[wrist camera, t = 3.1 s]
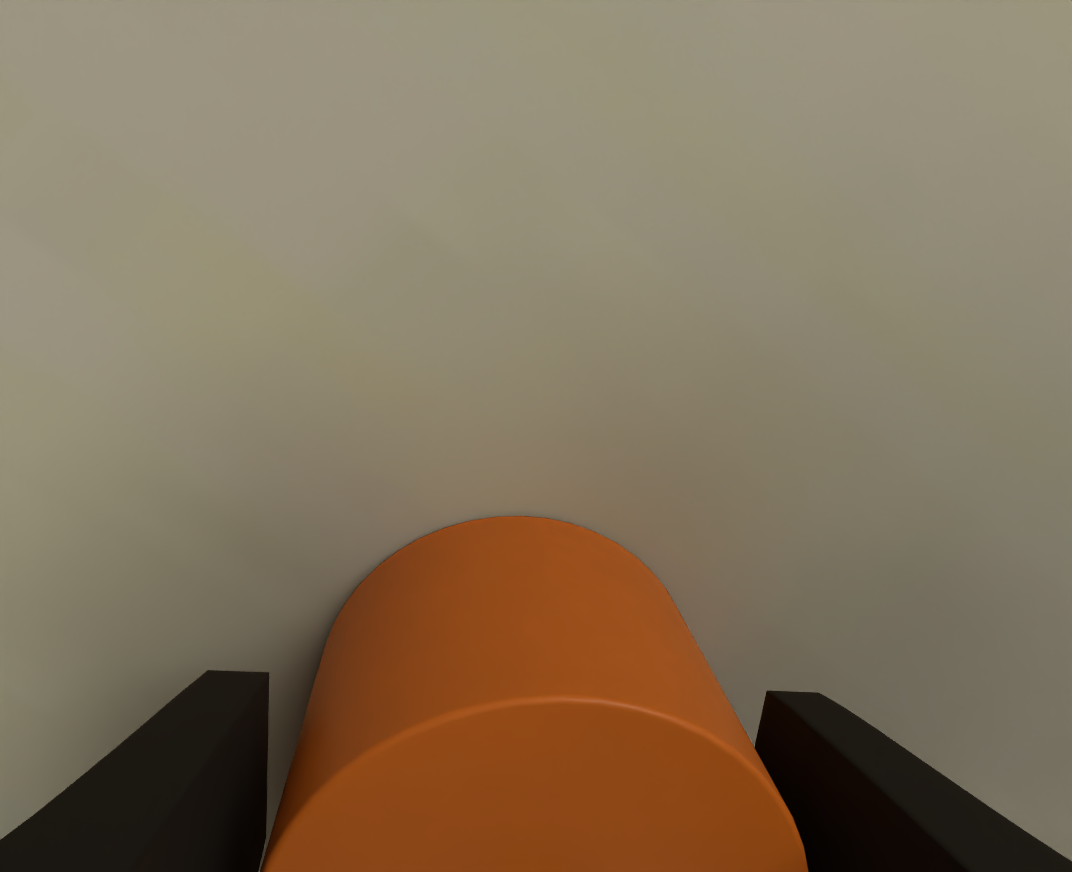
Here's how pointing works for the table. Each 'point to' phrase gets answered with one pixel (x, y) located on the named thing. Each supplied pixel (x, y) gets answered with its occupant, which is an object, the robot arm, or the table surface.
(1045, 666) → the table surface
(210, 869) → the robot arm
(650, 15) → the table surface
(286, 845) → the squash
